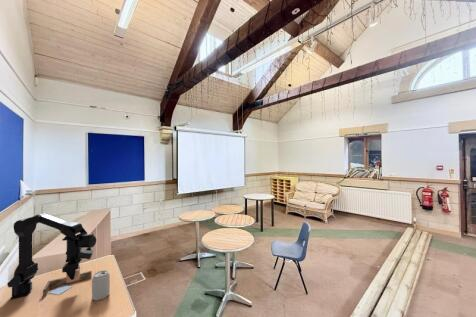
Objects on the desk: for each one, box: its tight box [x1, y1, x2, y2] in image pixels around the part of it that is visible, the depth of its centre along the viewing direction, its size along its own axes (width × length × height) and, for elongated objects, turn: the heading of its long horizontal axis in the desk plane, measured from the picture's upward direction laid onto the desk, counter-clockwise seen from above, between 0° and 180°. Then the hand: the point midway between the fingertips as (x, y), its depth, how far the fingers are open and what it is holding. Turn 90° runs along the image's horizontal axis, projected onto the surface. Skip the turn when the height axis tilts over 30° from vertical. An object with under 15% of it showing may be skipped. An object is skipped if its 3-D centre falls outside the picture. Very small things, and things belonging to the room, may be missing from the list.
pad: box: [48, 284, 73, 296], centre depth 108 cm, size 7×7×1 cm
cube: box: [65, 266, 81, 284], centre depth 106 cm, size 5×5×5 cm
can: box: [91, 269, 111, 302], centre depth 102 cm, size 8×8×12 cm
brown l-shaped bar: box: [42, 270, 93, 297], centre depth 112 cm, size 20×9×4 cm, turn 122°
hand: (73, 277), depth 106 cm, fingers closed on cube, 5 cm apart
